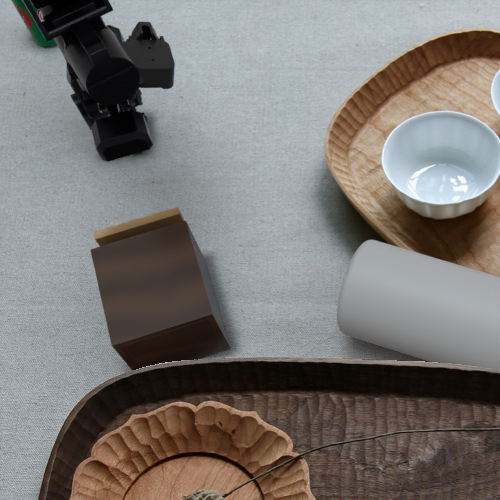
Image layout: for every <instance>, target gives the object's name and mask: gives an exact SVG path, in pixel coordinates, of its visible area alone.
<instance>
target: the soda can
mask: <svg viewBox="0 0 500 500" xmlns="http://www.w3.org/2000/svg"><path fill="white" fill-rule="evenodd" d="M10 1H11V3H12V4H13V6H14V8H15V9H16V11H17V13H18V15H19V16H20V18H21V20H22V21H23V23H24V25H25V27H26V28H27V30H28V32H29V33H30V35H31V37H32V38H33V41H34V42H35V43H36V44H37V45H40V46H43V47H53V46H56V45H57V43H56V42H55V40H54V39H51V40H49V41H46V39H45V38H44V36H43V34H42V33H41V31H40V29H39V28H38V26H37V24H36V23H35V21H34V19H33V18H32V16H31V14H30V13H29V11H28V9H27V7H26V6H25V4H24V2H23V1H22V0H10ZM29 1H30V0H29ZM30 3H31V1H30ZM31 5H32V7H33V8H34V10H35V12H36V13H37V15H38V17H39V19H40V20H41V22H42V21H44V19H43V15H42V13H41V11H40V9H35V7H34V6H33V4H32V3H31Z"/></svg>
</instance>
